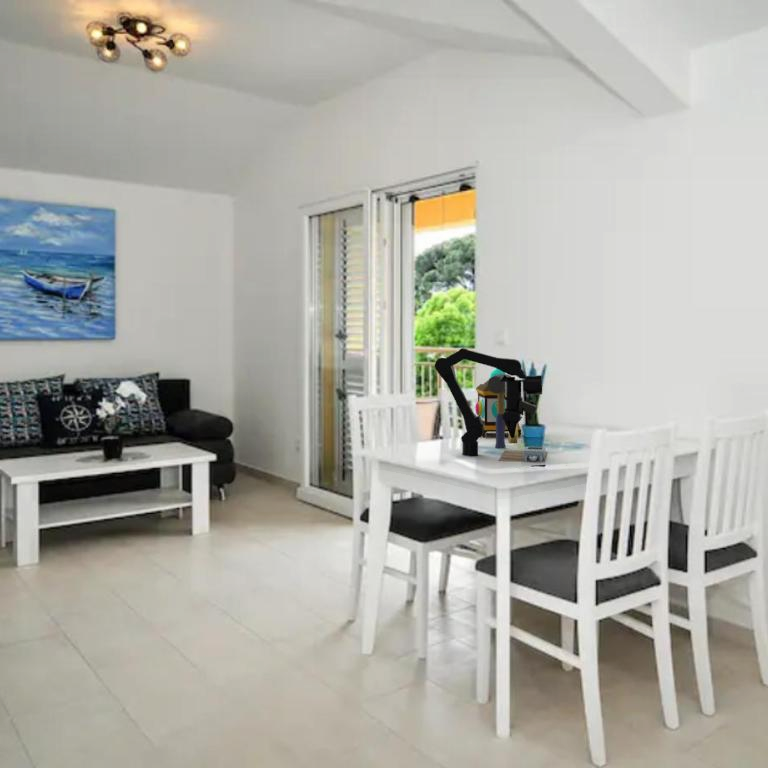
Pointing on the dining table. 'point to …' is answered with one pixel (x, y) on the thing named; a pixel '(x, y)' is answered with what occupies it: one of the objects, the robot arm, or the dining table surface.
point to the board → (517, 457)
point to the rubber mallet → (499, 407)
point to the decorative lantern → (489, 406)
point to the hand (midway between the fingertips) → (513, 437)
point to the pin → (515, 439)
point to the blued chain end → (534, 454)
